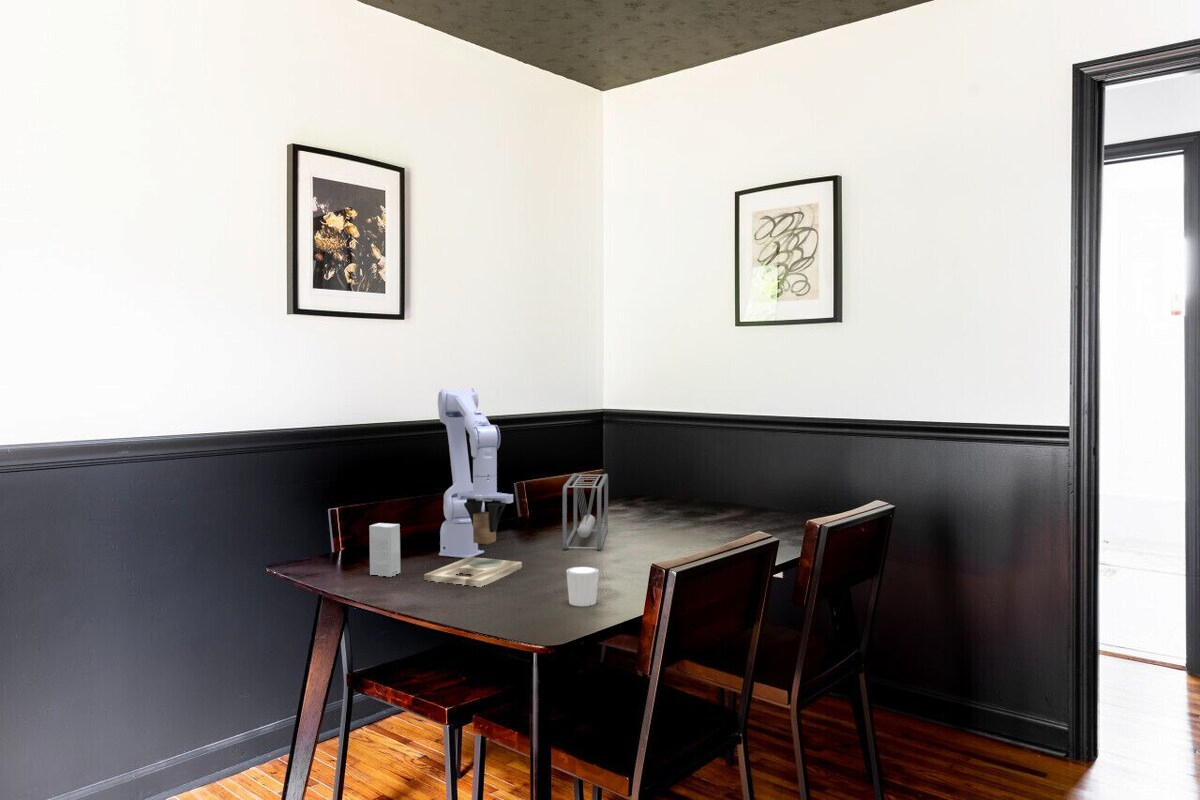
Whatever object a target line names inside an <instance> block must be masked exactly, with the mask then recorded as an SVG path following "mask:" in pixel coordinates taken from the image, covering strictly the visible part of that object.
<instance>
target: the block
mask: <svg viewBox="0 0 1200 800" xmlns="http://www.w3.org/2000/svg"><path fill="white" fill-rule="evenodd" d="M496 541H497V531H495V532H490V518H489V511H484V512H479V513H475V514H473V543H478V544H482V545H489V544H492V543H495V542H496Z"/></svg>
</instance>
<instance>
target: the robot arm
mask: <svg viewBox="0 0 1200 800" xmlns="http://www.w3.org/2000/svg"><path fill="white" fill-rule="evenodd" d="M478 407H479V395H478V391H477V390H476V389H475V388H471V389H464V388H463V389H460V388H459V389H444V388H442V389H440V390H439V392H438V396H437V409H438V417H439V421H440V423H442V424H444V425H445V426H446V427H445V428H446V432H447V438H448V445H449V447H448V448H449V450H448V451H449V457H450V467H451V476H452V477H451V478H452V485H451V486H450V487H448V489H447V490H445V492H444V494H443V515H444V517H445V520H444V521H443V522H442V524H441V527H440V531H439V534H440V535H439V536H440V541H439V545H440V548H439V549H440V551H439V553H438V556H443V557H454V558H462V559H465V558H467V557H476V556H479V555H481V554H484V553H485V550H480V549H479V543H473V514H475V513H479V512H486V511H485V510H486V508H485V506H486V507H487V512H489V518H490V532H495V531H496V532H497V530H498V525H499V521H500V519H501V515H502V514H503V513H502V512H504V509H505V507H506V505H507V504H512V503H514V494H513V493H511V494H510V493H502V492H499V491H498V487H497V485H498V483H497V481H498V480H497V479H498V475H497V474H498V472H497V471H498V470H497V469H498V463H497V462H498V461H497V460H498V459H497V458H498V457H497V456H498V454H497V451H498V450H499V448H500V445H501V433H500V432H501V431H500V429H499V426H498V425H497V424H491V423H490V422H489V419H488V418H487V416H486V415H485V413H484V412H483V411H481V410H478ZM466 431H467V433H468V434H469V443H470V444H469V445H470V453H471V454H470V455H471V457H472V476H471V470H470V469H471V468H470V460H469V452H468V443H467V435H466V434H467V433H466ZM471 477H472V478H471ZM472 481H473V482H472ZM497 491H498V492H497ZM485 502H489V503H486V505H485Z"/></svg>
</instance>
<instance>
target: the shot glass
mask: <svg viewBox="0 0 1200 800" xmlns="http://www.w3.org/2000/svg"><path fill="white" fill-rule="evenodd" d="M599 573H600V569H598V568H596V567H594V566H573V567H569V568H567V569H566V582H567V591H568V592H567V593H568V604H569V605H571V606H575V607H590V605H591V606H594V605H595V604H596V603H597V598H598V597H597V596H598V595H597V594H598V585H599Z"/></svg>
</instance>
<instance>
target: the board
mask: <svg viewBox="0 0 1200 800" xmlns="http://www.w3.org/2000/svg"><path fill="white" fill-rule="evenodd" d="M521 569H523V562H522V561H517V560H516V561H515V560H504V559H495V558H486V557H476V556H474V557H467V558H462V559H460V560H458V561H455V562H453V563H452V562H451V563H449V564H447V565H444V566H442V567H439V568H437V569H435V570H433V571H432V570H431V571H430V572H427V573H425V574H424V575H423V578H424V580H427V581H426V582H430V581H435V582H434V583H438V582H444V583H443V584H447V583H453V584H452V585H456V584H462V585H461V586H464V585H469V586H468V587H473V586H476V587H477V588H483V587H484V585H485V586H486V585H489V584H491V583H494V582H496V581H498V580H500V579H502V578H504V577H506V576H508V575H510V574H513V573H514V572H517V571H518V570H521ZM459 573H463V574H462V575H460V574H459ZM456 574H458V575H456ZM466 574H471V575H470V576H463V575H466ZM482 586H483V587H482ZM476 587H475V588H476Z"/></svg>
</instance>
